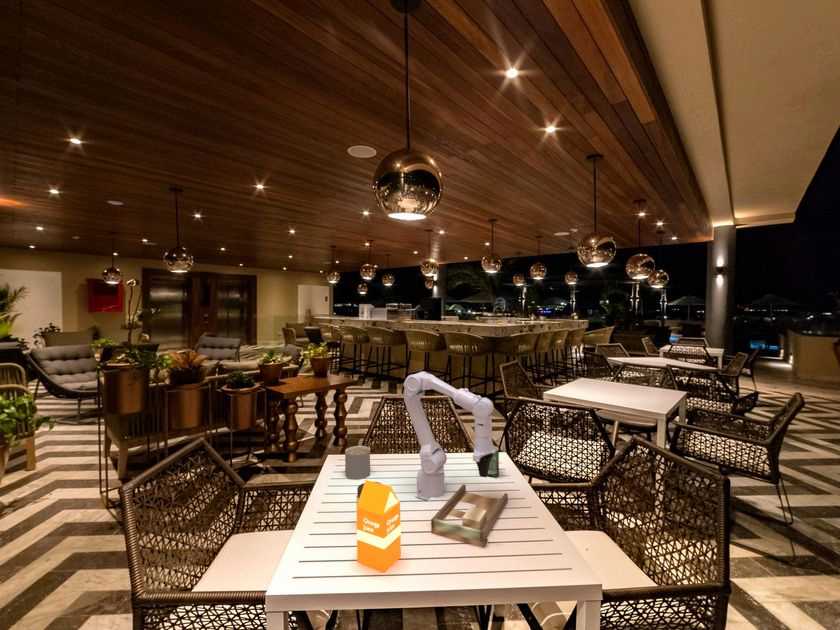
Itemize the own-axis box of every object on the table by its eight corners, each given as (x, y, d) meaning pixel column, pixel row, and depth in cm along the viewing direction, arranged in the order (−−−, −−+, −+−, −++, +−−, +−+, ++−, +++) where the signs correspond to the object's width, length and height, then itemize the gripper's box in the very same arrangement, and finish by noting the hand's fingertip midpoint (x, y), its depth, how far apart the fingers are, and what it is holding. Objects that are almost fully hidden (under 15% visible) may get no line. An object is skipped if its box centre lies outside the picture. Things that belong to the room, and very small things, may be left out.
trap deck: (431, 533, 111) (431, 519, 111) (463, 495, 134) (463, 484, 134) (483, 547, 103) (483, 533, 103) (507, 505, 126) (507, 493, 126)
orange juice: (374, 546, 104) (374, 474, 105) (401, 556, 100) (400, 481, 100) (356, 562, 98) (355, 485, 98) (384, 573, 93) (383, 493, 93)
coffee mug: (359, 481, 146) (358, 456, 146) (340, 476, 152) (340, 451, 152) (380, 469, 158) (380, 446, 158) (362, 465, 163) (361, 442, 163)
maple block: (462, 531, 109) (462, 517, 109) (470, 519, 115) (470, 506, 115) (479, 535, 106) (478, 521, 106) (486, 523, 113) (486, 510, 113)
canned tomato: (475, 474, 152) (474, 447, 152) (488, 469, 156) (488, 443, 157) (489, 481, 145) (489, 452, 145) (503, 475, 150) (502, 448, 150)
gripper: (487, 443, 117) (488, 487, 117) (501, 431, 130) (501, 470, 130) (466, 440, 121) (467, 482, 121) (481, 428, 133) (482, 466, 133)
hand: (483, 476), depth 126 cm, fingers closed
